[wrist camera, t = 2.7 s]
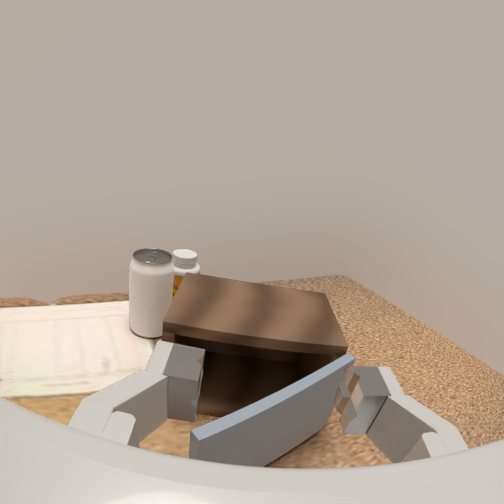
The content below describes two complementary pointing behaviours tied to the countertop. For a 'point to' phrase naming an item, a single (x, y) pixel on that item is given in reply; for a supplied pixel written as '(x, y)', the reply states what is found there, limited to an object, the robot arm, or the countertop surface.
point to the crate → (251, 337)
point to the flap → (271, 421)
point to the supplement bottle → (183, 266)
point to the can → (150, 291)
